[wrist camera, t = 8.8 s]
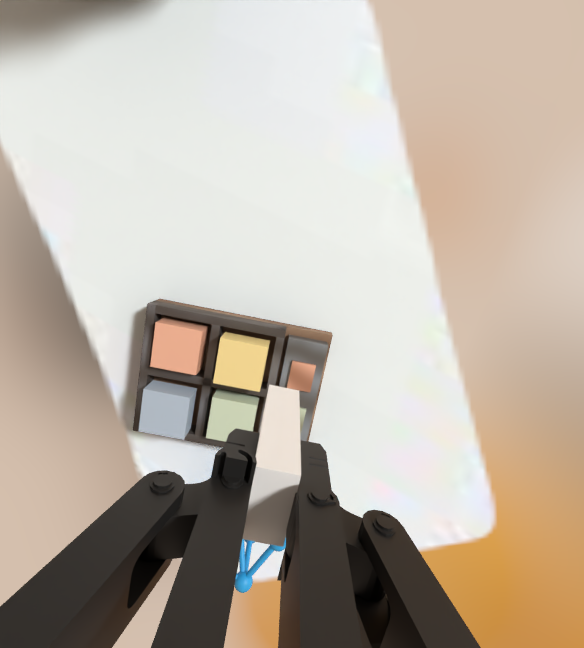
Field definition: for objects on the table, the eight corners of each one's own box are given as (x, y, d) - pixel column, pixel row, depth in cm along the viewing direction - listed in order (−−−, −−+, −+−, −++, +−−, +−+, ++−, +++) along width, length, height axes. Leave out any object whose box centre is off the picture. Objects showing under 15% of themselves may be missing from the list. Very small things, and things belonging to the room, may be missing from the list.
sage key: (217, 387, 47) (212, 397, 44) (259, 396, 48) (257, 405, 45) (211, 426, 49) (205, 438, 46) (252, 434, 49) (249, 446, 46)
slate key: (153, 379, 46) (143, 389, 43) (196, 388, 46) (190, 397, 43) (148, 419, 47) (138, 431, 44) (190, 427, 47) (183, 439, 44)
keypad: (159, 298, 47) (147, 303, 44) (331, 332, 48) (334, 340, 44) (145, 416, 51) (132, 430, 47) (305, 446, 52) (306, 462, 48)
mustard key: (225, 331, 44) (220, 337, 42) (270, 340, 45) (268, 347, 42) (218, 374, 46) (212, 383, 43) (262, 382, 46) (259, 392, 43)
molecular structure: (253, 537, 55) (244, 600, 45) (198, 503, 54) (177, 560, 44) (292, 491, 53) (291, 546, 43) (236, 454, 52) (222, 502, 42)
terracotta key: (164, 317, 46) (155, 322, 43) (208, 325, 46) (202, 331, 43) (159, 359, 47) (150, 366, 44) (202, 367, 47) (195, 375, 44)
